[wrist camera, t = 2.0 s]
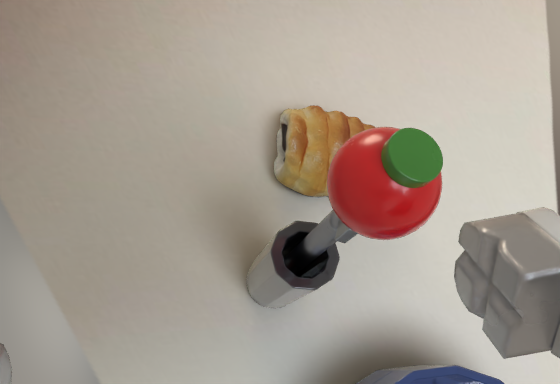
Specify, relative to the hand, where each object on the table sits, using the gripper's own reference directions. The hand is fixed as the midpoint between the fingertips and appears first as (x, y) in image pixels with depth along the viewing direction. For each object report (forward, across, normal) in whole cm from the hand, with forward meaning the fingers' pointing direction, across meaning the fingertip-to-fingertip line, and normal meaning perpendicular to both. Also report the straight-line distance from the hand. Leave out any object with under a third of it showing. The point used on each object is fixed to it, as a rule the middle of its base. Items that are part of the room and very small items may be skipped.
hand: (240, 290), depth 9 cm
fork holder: (+19, -3, +17) cm, 26 cm away
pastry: (+27, -8, +12) cm, 30 cm away
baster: (+19, -3, +16) cm, 25 cm away
